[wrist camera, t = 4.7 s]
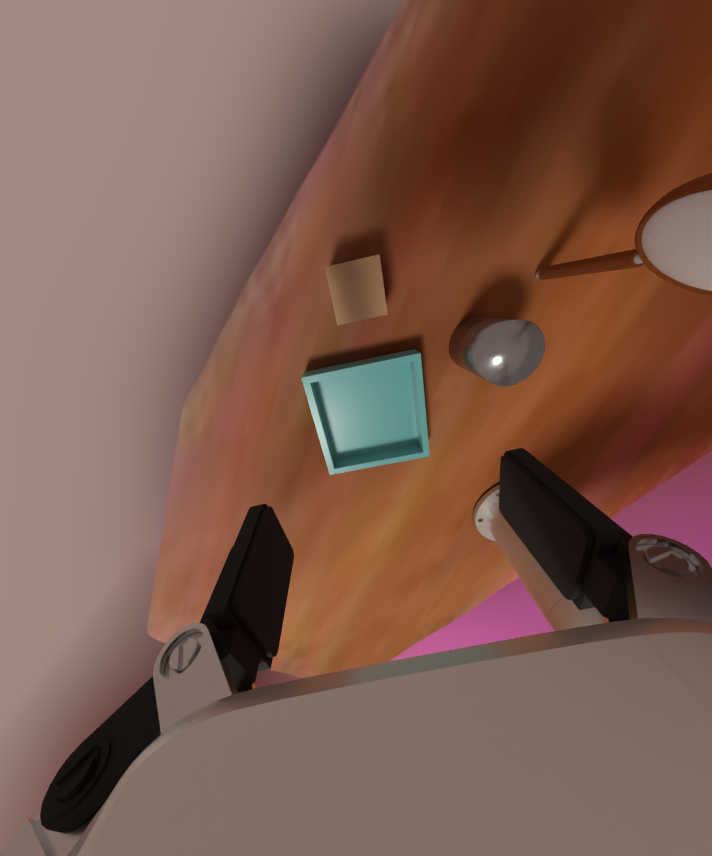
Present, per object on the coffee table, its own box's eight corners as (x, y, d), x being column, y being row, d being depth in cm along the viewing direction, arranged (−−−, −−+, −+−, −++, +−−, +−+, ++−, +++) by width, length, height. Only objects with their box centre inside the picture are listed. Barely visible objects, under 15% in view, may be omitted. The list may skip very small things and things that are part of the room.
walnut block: (373, 262, 28) (379, 254, 23) (381, 313, 30) (387, 314, 25) (328, 273, 28) (324, 266, 23) (338, 322, 30) (337, 325, 25)
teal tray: (414, 348, 31) (420, 353, 29) (423, 445, 37) (429, 456, 34) (305, 371, 32) (301, 377, 29) (330, 462, 38) (329, 474, 35)
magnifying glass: (506, 254, 28) (810, 156, 10) (518, 238, 27) (868, 102, 9) (554, 306, 30) (872, 308, 12) (567, 293, 29) (921, 272, 11)
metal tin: (499, 311, 30) (548, 313, 23) (497, 362, 33) (541, 379, 25) (447, 322, 30) (480, 327, 23) (449, 372, 33) (479, 391, 26)
